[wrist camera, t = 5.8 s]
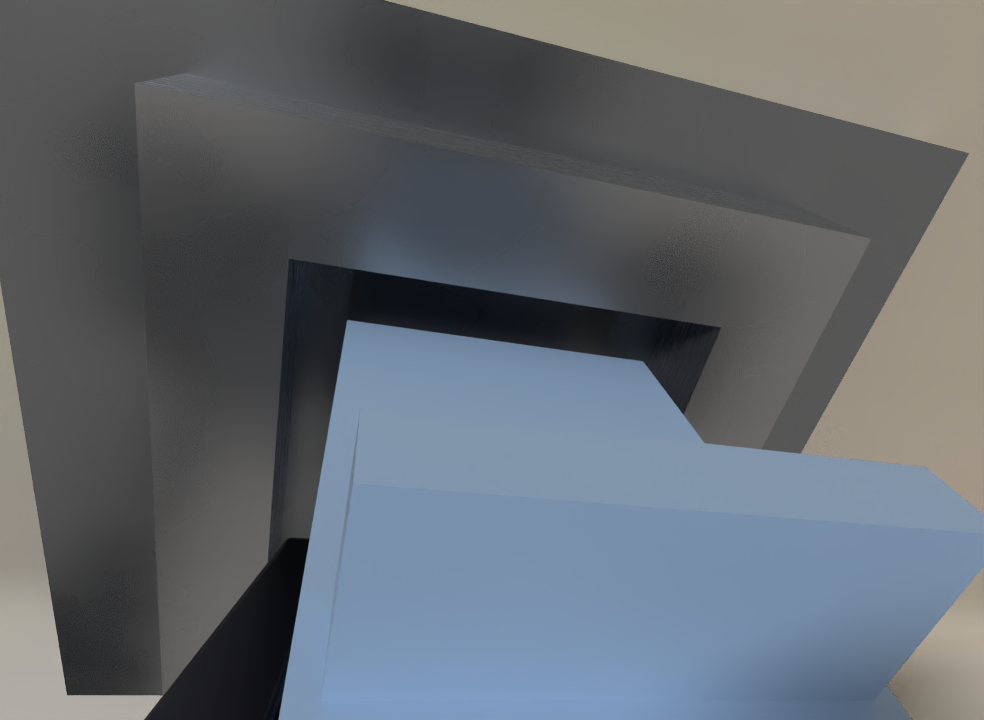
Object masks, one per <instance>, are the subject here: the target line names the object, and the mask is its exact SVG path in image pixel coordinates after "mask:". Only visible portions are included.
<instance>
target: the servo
mask: <svg viewBox="0 0 984 720" xmlns="http://www.w3.org/2000/svg"><path fill="white" fill-rule="evenodd" d="M983 566H984V515H983V514H982V513H981V512H980V511H979V510H977V509H976V508H975V507H974V506H972V505H971V504H970V503H969V502H968V501H966V500H965V499H964V498H963V497H961V496H960V495H959V494H958V493H957V492H955V491H954V490H953V489H952V488H950V487H949V486H948V485H947V484H946V483H944V482H943V481H942V480H941V479H939V478H938V477H937V476H936V475H935V474H933V473H932V472H931V471H930V470H929V469H927V468H926V467H918V466H909V465H900V464H891V463H881V462H872V461H863V460H854V459H845V458H835V457H826V456H817V455H808V454H799V453H789V452H780V451H771V450H762V449H753V448H743V447H734V446H725V445H716V444H707V443H704V442H703V440H702V439H701V438H700V436H699V435H698V434H697V432H696V431H695V430H694V428H693V427H692V426H691V424H690V423H689V422H688V420H687V419H686V418H685V416H684V415H683V414H682V412H681V411H680V410H679V408H678V407H677V406H676V404H675V403H674V402H673V400H672V399H671V398H670V396H669V395H668V394H667V392H666V391H665V390H664V388H663V387H662V386H661V384H660V383H659V382H658V380H657V379H656V378H655V376H654V375H653V374H652V372H651V371H650V370H649V369H648V367H647V366H646V365H645V363H644V362H643V361H636V360H629V359H622V358H615V357H608V356H601V355H593V354H586V353H579V352H572V351H565V350H558V349H551V348H544V347H536V346H529V345H522V344H515V343H508V342H501V341H494V340H486V339H479V338H472V337H465V336H458V335H451V334H444V333H436V332H429V331H422V330H415V329H408V328H401V327H394V326H386V325H379V324H372V323H365V322H358V321H351V320H347V324H346V330H345V336H344V342H343V348H342V353H341V359H340V365H339V371H338V377H337V383H336V388H335V394H334V400H333V406H332V412H331V418H330V423H329V429H328V435H327V441H326V447H325V453H324V458H323V464H322V470H321V476H320V482H319V487H318V493H317V499H316V505H315V511H314V517H313V522H312V528H311V534H310V540H309V546H308V552H307V557H306V563H305V569H304V575H303V581H302V586H301V592H300V598H299V604H298V610H297V616H296V621H295V627H294V633H293V639H292V645H291V651H290V656H289V662H288V668H287V674H286V680H285V685H284V691H283V697H282V703H281V709H280V715H279V720H912V718H911V717H910V716H909V714H908V713H907V712H906V710H905V709H904V708H903V706H902V705H901V704H900V702H899V701H898V700H897V698H896V697H895V696H894V694H893V693H892V692H891V690H890V689H889V688H888V686H887V684H888V683H889V681H890V680H891V679H892V678H893V676H894V675H895V674H896V673H897V672H898V670H899V669H900V668H901V667H902V665H903V664H904V663H905V662H906V661H907V659H908V658H909V657H910V656H911V654H912V653H913V652H914V651H915V650H916V648H917V647H918V646H919V645H920V643H921V642H922V641H923V640H924V638H925V637H926V636H927V635H928V634H929V632H930V631H931V630H932V629H933V627H934V626H935V625H936V624H937V623H938V621H939V620H940V619H941V618H942V616H943V615H944V614H945V613H946V612H947V610H948V609H949V608H950V607H951V605H952V604H953V603H954V602H955V601H956V599H957V598H958V597H959V596H960V594H961V593H962V592H963V591H964V590H965V588H966V587H967V586H968V585H969V583H970V582H971V581H972V580H973V579H974V577H975V576H976V575H977V574H978V572H979V571H980V570H981V569H982V568H983Z"/></svg>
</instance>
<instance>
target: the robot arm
mask: <svg viewBox="0 0 984 720" xmlns="http://www.w3.org/2000/svg"><path fill="white" fill-rule="evenodd" d="M309 540H310V538H288V539H287V540H285V541H284V542H283V544H282V545H281V546H280V547H279V549H278V550H277V551H276V552H275V554H274V555H273V556H272V558H271V559H270V560H269V561H268V563H267V564H266V565H265V566H264V568H263V569H262V570H261V572H260V573H259V574H258V575H257V577H256V578H255V579H254V580H253V582H252V583H251V584H250V586H249V587H248V588H247V589H246V591H245V592H244V593H243V595H242V596H241V597H240V598H239V600H238V601H237V602H236V603H235V605H234V606H233V607H232V609H231V610H230V611H229V612H228V614H227V615H226V616H225V617H224V619H223V620H222V621H221V623H220V624H219V625H218V626H217V628H216V629H215V630H214V631H213V633H212V634H211V635H210V637H209V638H208V639H207V640H206V642H205V643H204V644H203V645H202V647H201V648H200V649H199V651H198V652H197V653H196V654H195V656H194V657H193V658H192V659H191V661H190V662H189V663H188V665H187V666H186V667H185V668H184V670H183V671H182V672H181V674H180V675H179V676H178V677H177V679H176V680H175V681H174V682H173V684H172V685H171V686H170V688H169V689H168V690H167V691H166V693H165V694H164V695H163V696H162V698H161V699H160V700H159V702H158V703H157V704H156V705H155V707H154V708H153V709H152V710H151V712H150V713H149V714H148V716H147V717H146V718H145V719H144V720H279V715H280V709H281V703H282V697H283V691H284V685H285V680H286V674H287V668H288V662H289V656H290V651H291V645H292V639H293V633H294V627H295V621H296V616H297V610H298V604H299V598H300V592H301V586H302V581H303V575H304V569H305V563H306V557H307V552H308V546H309Z"/></svg>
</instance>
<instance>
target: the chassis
mask: <svg viewBox="0 0 984 720" xmlns="http://www.w3.org/2000/svg"><path fill="white" fill-rule="evenodd" d="M968 154H969V153H965V152H962V151H958V150H954V149H950V148H946V147H943V146H939V145H935V144H931V143H927V142H923V141H920V140H916V139H912V138H908V137H904V136H900V135H897V134H893V133H889V132H885V131H881V130H878V129H874V128H870V127H866V126H862V125H858V124H855V123H851V122H847V121H843V120H839V119H835V118H832V117H828V116H824V115H820V114H816V113H813V112H809V111H805V110H801V109H797V108H793V107H790V106H786V105H782V104H778V103H774V102H771V101H767V100H763V99H759V98H755V97H751V96H748V95H744V94H740V93H736V92H732V91H728V90H725V89H721V88H717V87H713V86H709V85H706V84H702V83H698V82H694V81H690V80H686V79H683V78H679V77H675V76H671V75H667V74H664V73H660V72H656V71H652V70H648V69H644V68H641V67H637V66H633V65H629V64H625V63H621V62H618V61H614V60H610V59H606V58H602V57H599V56H595V55H591V54H587V53H583V52H579V51H576V50H572V49H568V48H564V47H560V46H557V45H553V44H549V43H545V42H541V41H537V40H534V39H530V38H526V37H522V36H518V35H514V34H511V33H507V32H503V31H499V30H495V29H492V28H488V27H484V26H480V25H476V24H472V23H469V22H465V21H461V20H457V19H453V18H449V17H446V16H442V15H438V14H434V13H430V12H427V11H423V10H419V9H415V8H411V7H407V6H404V5H400V4H396V3H392V2H388V1H385V0H0V282H1V288H2V294H3V301H4V307H5V313H6V319H7V325H8V332H9V338H10V344H11V350H12V356H13V363H14V369H15V375H16V381H17V387H18V394H19V400H20V406H21V412H22V418H23V425H24V431H25V437H26V443H27V449H28V456H29V462H30V468H31V474H32V480H33V486H34V493H35V499H36V505H37V511H38V517H39V524H40V530H41V536H42V542H43V548H44V555H45V561H46V567H47V573H48V579H49V586H50V592H51V598H52V604H53V610H54V617H55V623H56V629H57V635H58V641H59V648H60V654H61V660H62V666H63V672H64V679H65V685H66V691H67V695H164V694H165V693H166V691H167V690H168V689H169V688H170V686H171V685H172V684H173V682H174V681H175V680H176V679H177V677H178V676H179V675H180V674H181V672H182V671H183V670H184V668H185V667H186V666H187V665H188V663H189V662H190V661H191V659H192V658H193V657H194V656H195V654H196V653H197V652H198V651H199V649H200V648H201V647H202V645H203V644H204V643H205V642H206V640H207V639H208V638H209V637H210V635H211V634H212V633H213V631H214V630H215V629H216V628H217V626H218V625H219V624H220V623H221V621H222V620H223V619H224V617H225V616H226V615H227V614H228V612H229V611H230V610H231V609H232V607H233V606H234V605H235V603H236V602H237V601H238V600H239V598H240V597H241V596H242V595H243V593H244V592H245V591H246V589H247V588H248V587H249V586H250V584H251V583H252V582H253V580H254V579H255V578H256V577H257V575H258V574H259V573H260V572H261V570H262V569H263V568H264V566H265V565H266V564H267V563H268V561H269V560H270V559H271V558H272V556H273V555H274V554H275V552H276V551H277V550H278V549H279V547H280V546H281V545H282V544H283V542H284V541H285V540H287V539H288V538H310V534H311V528H312V522H313V517H314V511H315V505H316V499H317V493H318V487H319V482H320V476H321V470H322V464H323V458H324V453H325V447H326V441H327V435H328V429H329V423H330V418H331V412H332V406H333V400H334V394H335V388H336V383H337V377H338V371H339V365H340V359H341V353H342V348H343V342H344V336H345V330H346V324H347V320H351V321H358V322H365V323H372V324H379V325H386V326H394V327H401V328H408V329H415V330H422V331H429V332H436V333H444V334H451V335H458V336H465V337H472V338H479V339H486V340H494V341H501V342H508V343H515V344H522V345H529V346H536V347H544V348H551V349H558V350H565V351H572V352H579V353H586V354H593V355H601V356H608V357H615V358H622V359H629V360H636V361H643V362H644V363H645V365H646V366H647V367H648V369H649V370H650V371H651V372H652V374H653V375H654V376H655V378H656V379H657V380H658V382H659V383H660V384H661V386H662V387H663V388H664V390H665V391H666V392H667V394H668V395H669V396H670V398H671V399H672V400H673V402H674V403H675V404H676V406H677V407H678V408H679V410H680V411H681V412H682V414H683V415H684V416H685V418H686V419H687V420H688V422H689V423H690V424H691V426H692V427H693V428H694V430H695V431H696V432H697V434H698V435H699V436H700V438H701V439H702V440H703V442H704V443H707V444H716V445H725V446H734V447H743V448H753V449H762V450H771V451H780V452H789V453H799V454H800V453H801V452H802V450H803V448H804V446H805V444H806V443H807V441H808V439H809V437H810V435H811V434H812V432H813V430H814V428H815V427H816V425H817V423H818V421H819V419H820V418H821V416H822V414H823V412H824V411H825V409H826V407H827V405H828V403H829V402H830V400H831V398H832V396H833V395H834V393H835V391H836V389H837V387H838V386H839V384H840V382H841V380H842V379H843V377H844V375H845V373H846V371H847V370H848V368H849V366H850V364H851V363H852V361H853V359H854V357H855V355H856V354H857V352H858V350H859V348H860V346H861V345H862V343H863V341H864V339H865V338H866V336H867V334H868V332H869V330H870V329H871V327H872V325H873V323H874V322H875V320H876V318H877V316H878V314H879V313H880V311H881V309H882V307H883V306H884V304H885V302H886V300H887V298H888V297H889V295H890V293H891V291H892V290H893V288H894V286H895V284H896V282H897V281H898V279H899V277H900V275H901V273H902V272H903V270H904V268H905V266H906V265H907V263H908V261H909V259H910V257H911V256H912V254H913V252H914V250H915V249H916V247H917V245H918V243H919V241H920V240H921V238H922V236H923V234H924V233H925V231H926V229H927V227H928V225H929V224H930V222H931V220H932V218H933V217H934V215H935V213H936V211H937V209H938V208H939V206H940V204H941V202H942V200H943V199H944V197H945V195H946V193H947V192H948V190H949V188H950V186H951V184H952V183H953V181H954V179H955V177H956V176H957V174H958V172H959V170H960V168H961V167H962V165H963V163H964V161H965V160H966V158H967V156H968Z"/></svg>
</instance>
